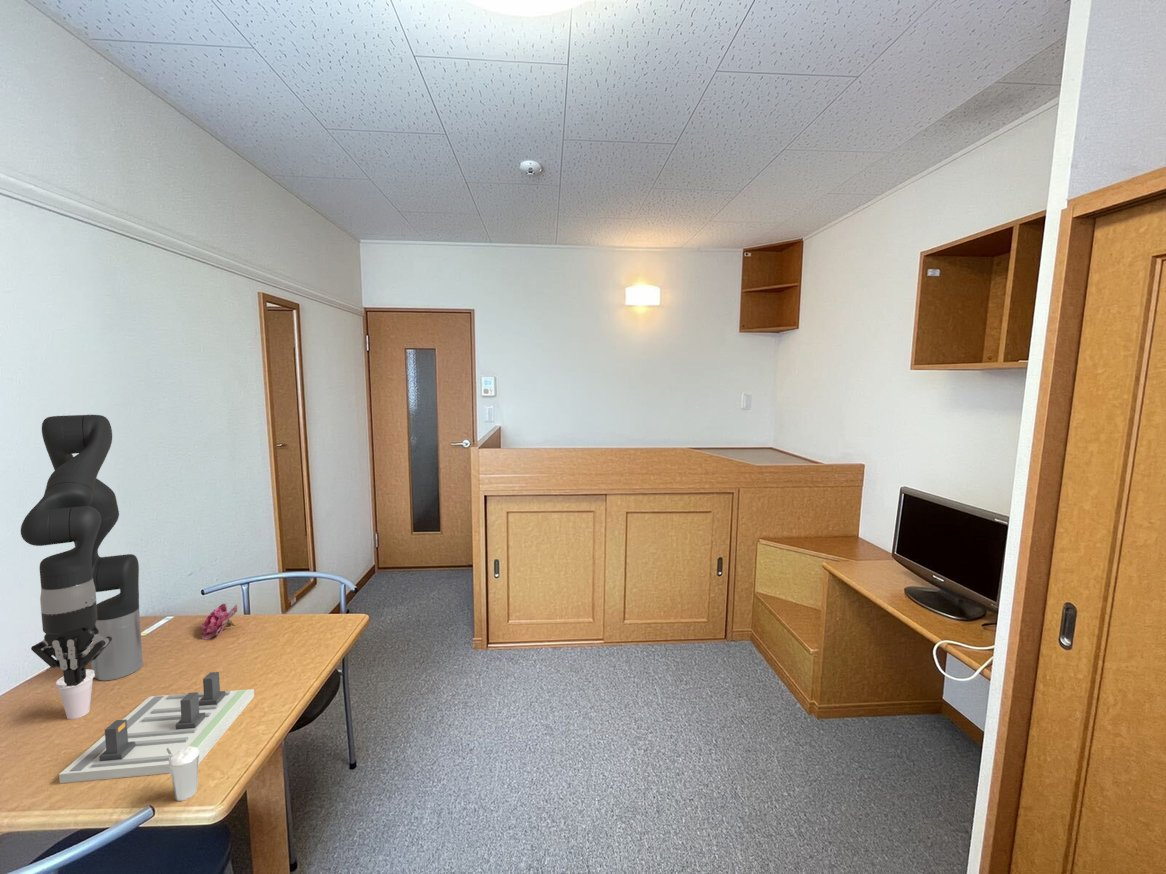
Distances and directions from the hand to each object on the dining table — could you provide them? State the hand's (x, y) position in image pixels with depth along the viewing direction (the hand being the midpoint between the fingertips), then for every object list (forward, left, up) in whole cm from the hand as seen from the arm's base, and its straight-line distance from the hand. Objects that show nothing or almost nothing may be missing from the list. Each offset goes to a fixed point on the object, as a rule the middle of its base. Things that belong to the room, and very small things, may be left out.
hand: (75, 683), depth 95 cm
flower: (-4, +55, -19) cm, 58 cm away
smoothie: (-15, +18, -19) cm, 30 cm away
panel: (+11, +8, -19) cm, 23 cm away
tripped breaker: (+7, 0, -16) cm, 18 cm away
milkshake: (+25, -10, -19) cm, 33 cm away
